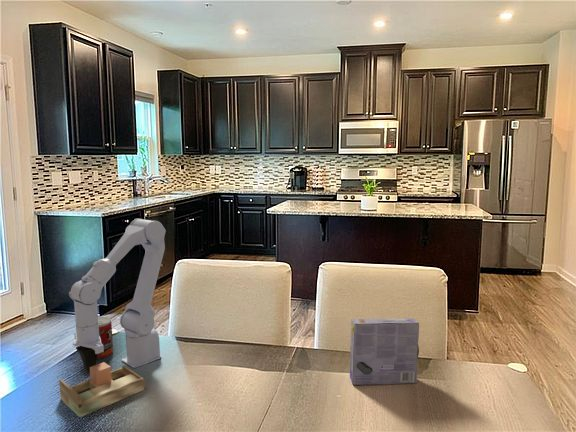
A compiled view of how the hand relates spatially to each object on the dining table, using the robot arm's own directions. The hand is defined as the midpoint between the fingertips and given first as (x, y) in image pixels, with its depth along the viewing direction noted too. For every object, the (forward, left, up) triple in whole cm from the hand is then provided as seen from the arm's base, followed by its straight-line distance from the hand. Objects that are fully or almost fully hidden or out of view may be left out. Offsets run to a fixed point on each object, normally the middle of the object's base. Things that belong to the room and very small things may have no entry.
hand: (90, 369), depth 123 cm
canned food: (-10, -16, -4) cm, 19 cm away
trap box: (+1, +9, -3) cm, 10 cm away
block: (0, +6, -1) cm, 7 cm away
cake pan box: (-56, +61, -4) cm, 83 cm away
